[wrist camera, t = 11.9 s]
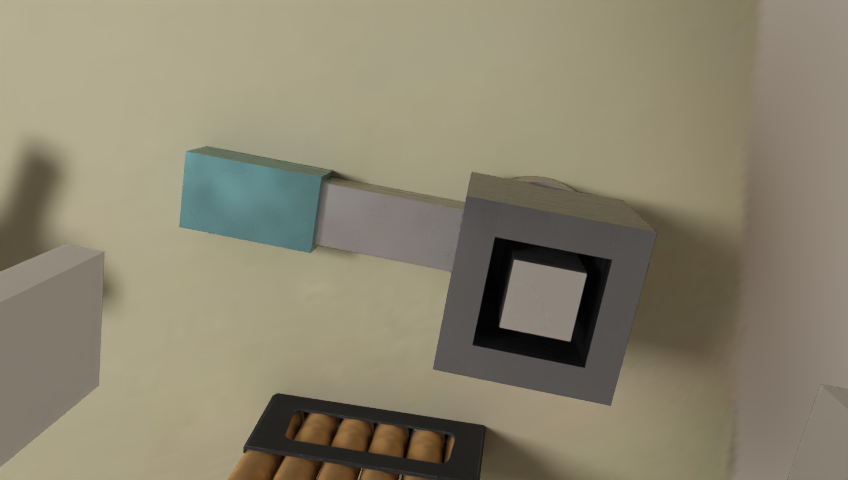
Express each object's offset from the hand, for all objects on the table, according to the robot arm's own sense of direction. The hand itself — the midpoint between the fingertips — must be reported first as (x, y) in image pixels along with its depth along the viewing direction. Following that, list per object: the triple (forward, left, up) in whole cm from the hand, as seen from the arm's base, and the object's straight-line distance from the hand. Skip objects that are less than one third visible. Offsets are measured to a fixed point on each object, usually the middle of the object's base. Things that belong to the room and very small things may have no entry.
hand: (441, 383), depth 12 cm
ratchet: (+2, -3, -19) cm, 19 cm away
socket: (+2, +3, -17) cm, 17 cm away
